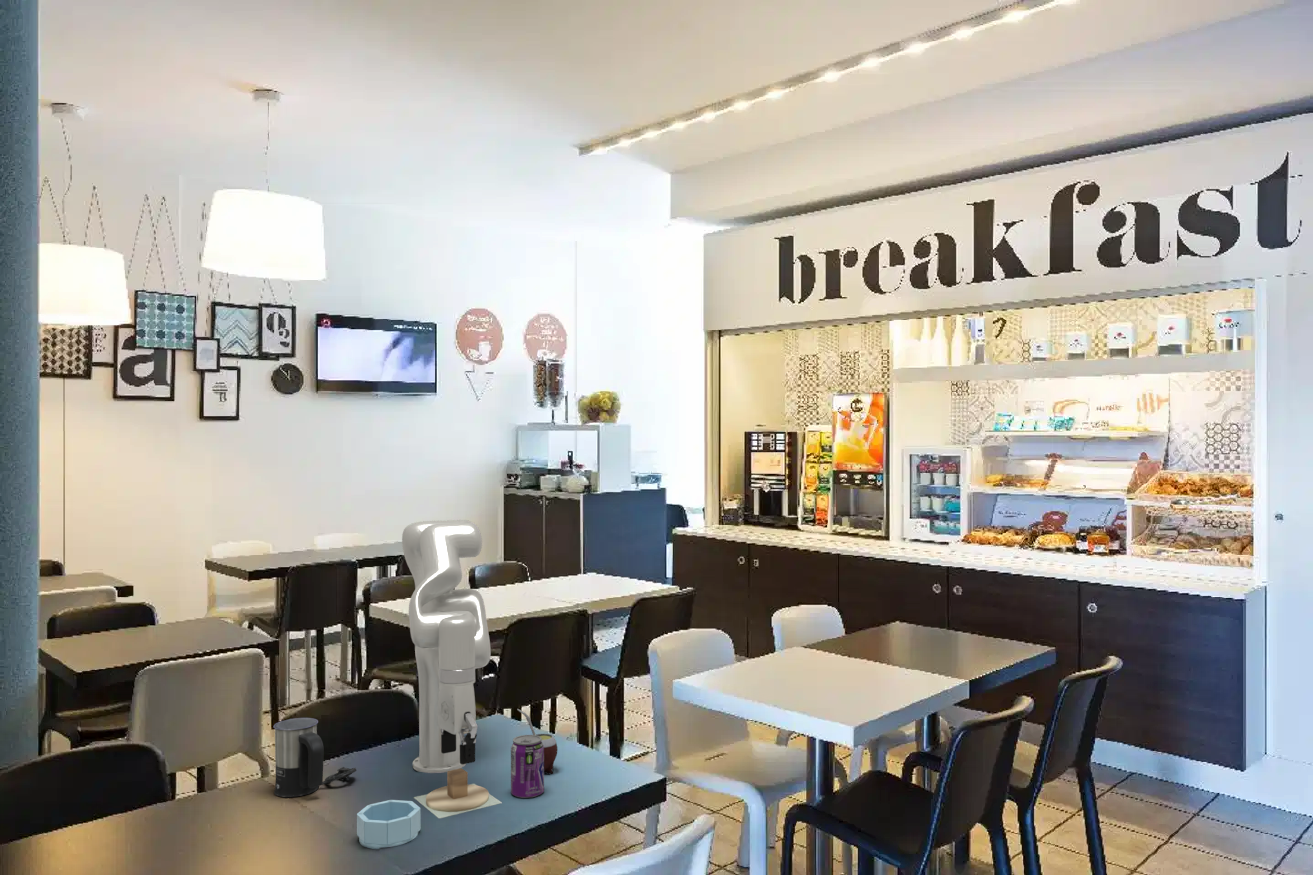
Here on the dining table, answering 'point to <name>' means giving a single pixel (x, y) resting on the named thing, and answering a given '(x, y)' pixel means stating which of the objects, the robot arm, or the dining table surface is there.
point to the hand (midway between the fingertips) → (458, 757)
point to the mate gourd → (545, 747)
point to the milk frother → (300, 758)
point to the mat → (441, 814)
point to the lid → (457, 794)
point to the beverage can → (527, 766)
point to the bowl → (388, 823)
